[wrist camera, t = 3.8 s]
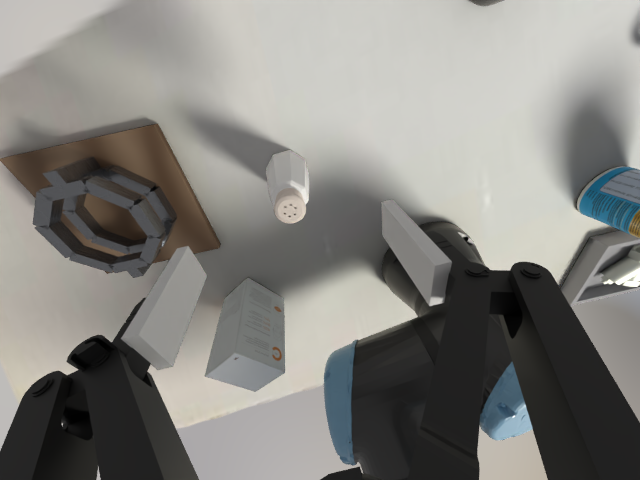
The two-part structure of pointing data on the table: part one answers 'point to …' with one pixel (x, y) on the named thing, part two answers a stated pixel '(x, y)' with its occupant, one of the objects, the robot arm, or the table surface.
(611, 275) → the pipe fitting
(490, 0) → the supplement bottle
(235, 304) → the small box
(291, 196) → the pepper shaker
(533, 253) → the table surface
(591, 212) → the beverage bottle
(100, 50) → the table surface
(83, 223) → the collar frame
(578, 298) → the parts tray
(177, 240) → the collar base
